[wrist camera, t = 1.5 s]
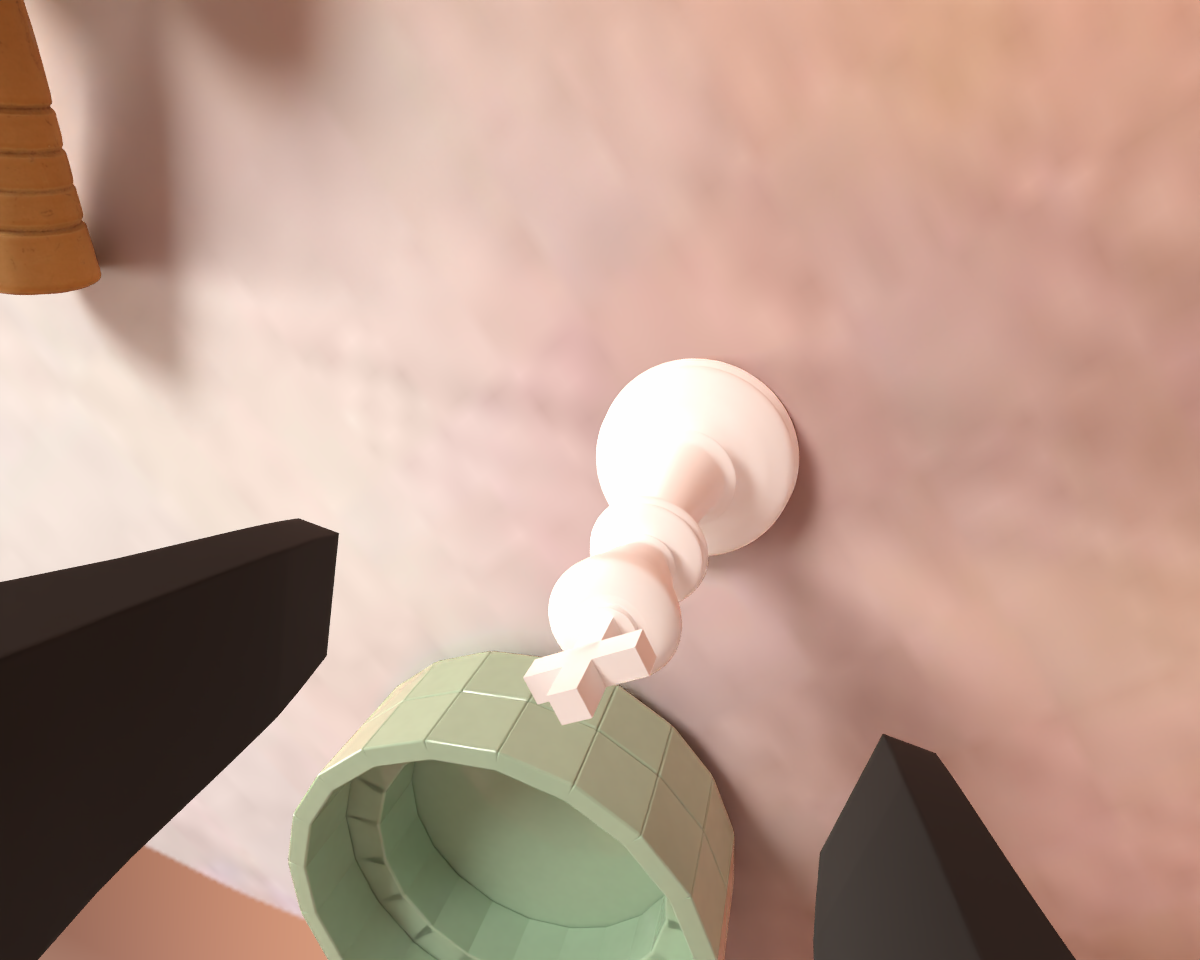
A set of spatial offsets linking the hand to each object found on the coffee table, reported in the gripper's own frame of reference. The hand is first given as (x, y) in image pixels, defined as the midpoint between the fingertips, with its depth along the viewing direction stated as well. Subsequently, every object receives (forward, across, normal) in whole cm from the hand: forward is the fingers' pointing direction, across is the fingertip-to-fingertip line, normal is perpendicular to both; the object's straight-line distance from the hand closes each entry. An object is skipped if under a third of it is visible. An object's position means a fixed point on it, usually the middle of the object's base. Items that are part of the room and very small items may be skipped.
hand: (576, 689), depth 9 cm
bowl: (+10, +1, +13) cm, 16 cm away
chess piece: (+10, 0, 0) cm, 10 cm away
